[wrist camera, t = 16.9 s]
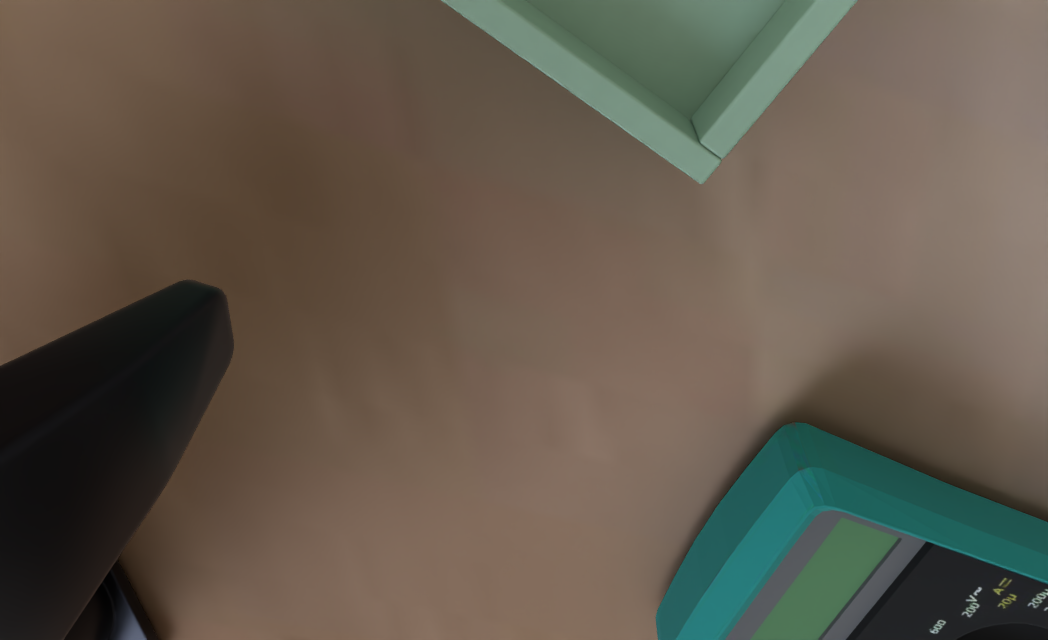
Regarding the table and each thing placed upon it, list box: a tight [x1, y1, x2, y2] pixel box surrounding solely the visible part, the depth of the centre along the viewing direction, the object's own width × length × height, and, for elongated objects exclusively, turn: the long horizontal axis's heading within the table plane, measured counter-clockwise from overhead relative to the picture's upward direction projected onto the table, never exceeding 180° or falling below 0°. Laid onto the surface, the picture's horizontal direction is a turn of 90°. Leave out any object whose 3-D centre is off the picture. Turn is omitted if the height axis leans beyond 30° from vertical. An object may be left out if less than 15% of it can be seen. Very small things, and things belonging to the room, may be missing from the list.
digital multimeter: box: [656, 422, 1048, 640], centre depth 24 cm, size 7×15×3 cm, turn 68°
